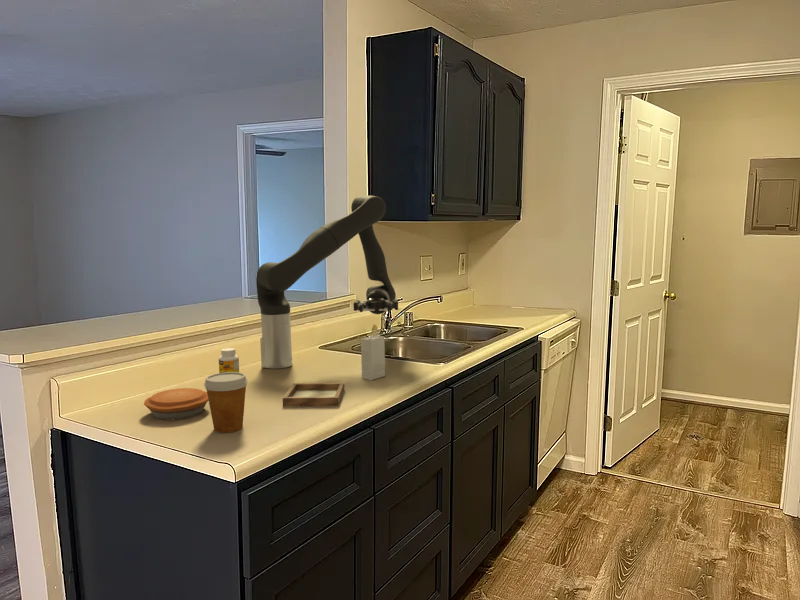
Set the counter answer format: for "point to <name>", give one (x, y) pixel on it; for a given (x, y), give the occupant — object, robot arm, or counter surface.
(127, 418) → the counter surface
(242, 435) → the counter surface
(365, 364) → the skincare box
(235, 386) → the disposable coffee cup
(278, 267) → the robot arm
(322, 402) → the tray
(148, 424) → the counter surface
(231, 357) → the supplement bottle
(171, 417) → the pie
